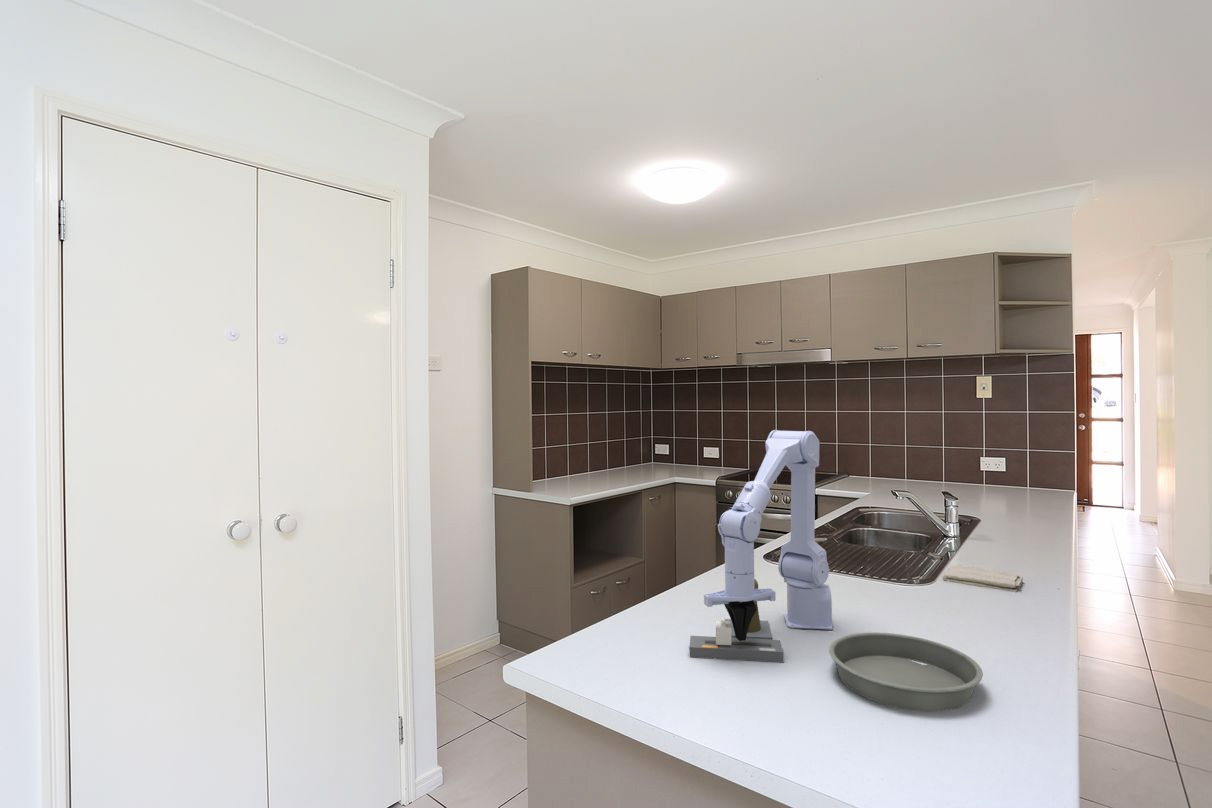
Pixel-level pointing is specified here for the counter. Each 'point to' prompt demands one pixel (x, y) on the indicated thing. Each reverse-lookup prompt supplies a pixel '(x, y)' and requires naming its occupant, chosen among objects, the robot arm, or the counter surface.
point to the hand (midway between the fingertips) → (740, 638)
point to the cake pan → (905, 671)
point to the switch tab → (723, 632)
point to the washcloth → (983, 578)
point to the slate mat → (762, 634)
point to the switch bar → (737, 649)
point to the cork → (755, 616)
